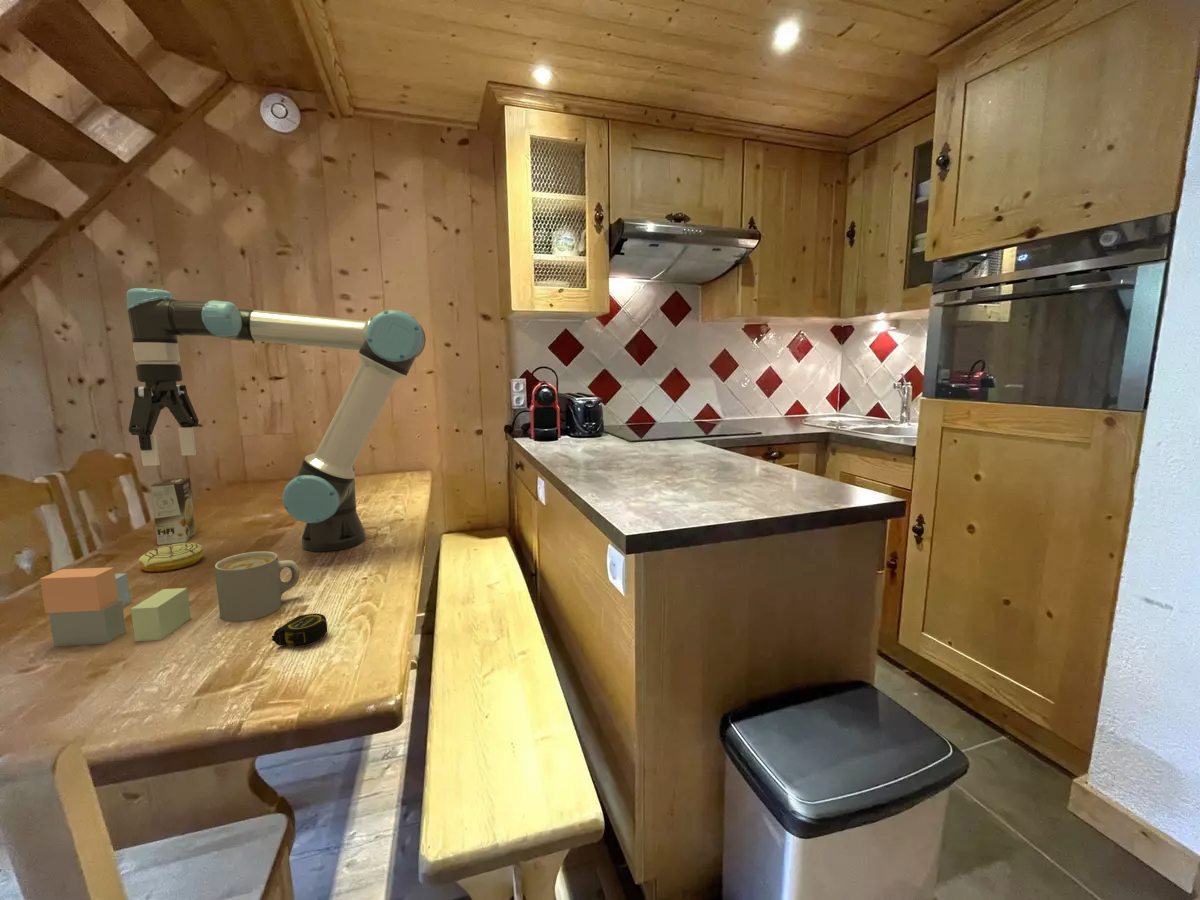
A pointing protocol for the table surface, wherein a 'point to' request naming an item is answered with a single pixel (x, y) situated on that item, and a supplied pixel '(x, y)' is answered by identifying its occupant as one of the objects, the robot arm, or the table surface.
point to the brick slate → (88, 626)
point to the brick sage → (160, 614)
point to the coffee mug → (252, 585)
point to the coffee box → (173, 510)
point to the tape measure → (301, 630)
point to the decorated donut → (171, 557)
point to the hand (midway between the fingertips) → (171, 460)
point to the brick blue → (123, 588)
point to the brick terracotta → (79, 590)
